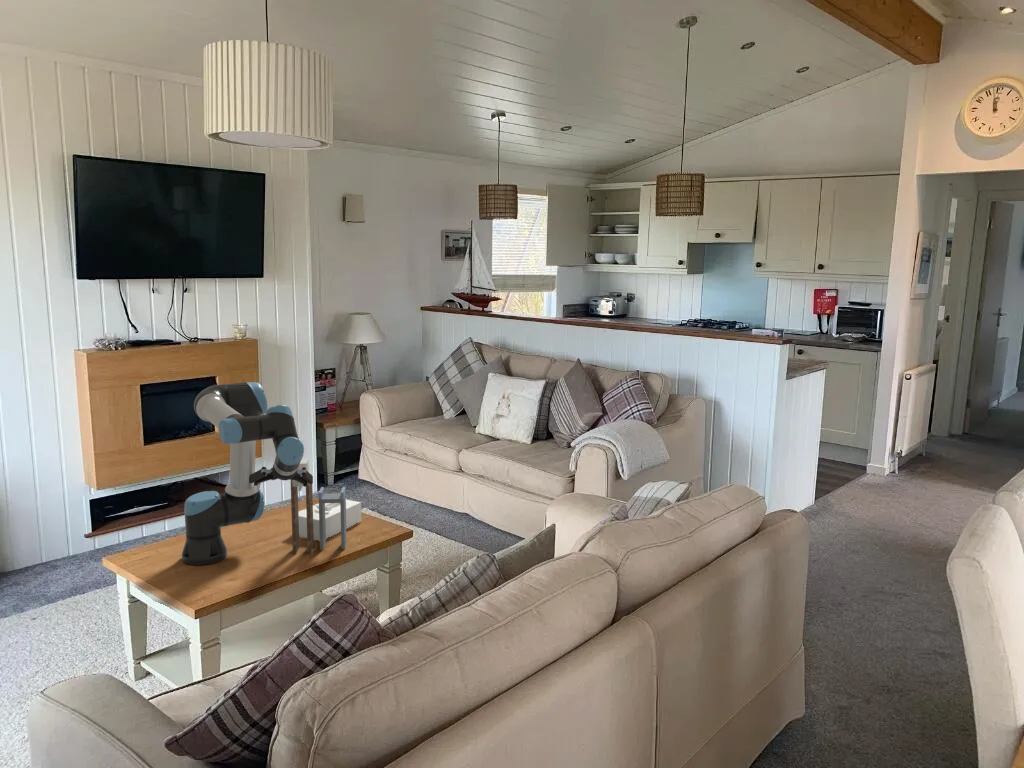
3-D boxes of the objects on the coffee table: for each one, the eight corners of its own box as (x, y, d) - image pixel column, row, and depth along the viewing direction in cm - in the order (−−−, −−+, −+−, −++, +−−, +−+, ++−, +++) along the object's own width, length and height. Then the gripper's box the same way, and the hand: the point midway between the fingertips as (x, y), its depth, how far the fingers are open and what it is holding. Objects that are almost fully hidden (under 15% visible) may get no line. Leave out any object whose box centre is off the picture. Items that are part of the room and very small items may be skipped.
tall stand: (292, 553, 282) (290, 480, 277) (296, 546, 289) (293, 474, 284) (311, 553, 282) (308, 479, 278) (313, 546, 289) (311, 474, 285)
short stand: (320, 549, 286) (318, 492, 283) (322, 542, 293) (321, 487, 289) (344, 549, 287) (343, 492, 283) (346, 542, 294) (345, 486, 290)
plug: (288, 486, 269) (287, 470, 268) (295, 475, 283) (294, 460, 282) (303, 486, 270) (302, 469, 269) (309, 475, 283) (308, 459, 282)
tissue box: (292, 535, 301) (291, 508, 299) (333, 516, 323) (332, 491, 321) (321, 542, 295) (320, 514, 293) (361, 522, 317) (361, 496, 315)
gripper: (243, 476, 236) (239, 497, 254) (326, 477, 246) (316, 497, 263) (244, 453, 239) (240, 475, 257) (326, 455, 249) (316, 477, 266)
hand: (278, 487), depth 260 cm, fingers open, 13 cm apart
